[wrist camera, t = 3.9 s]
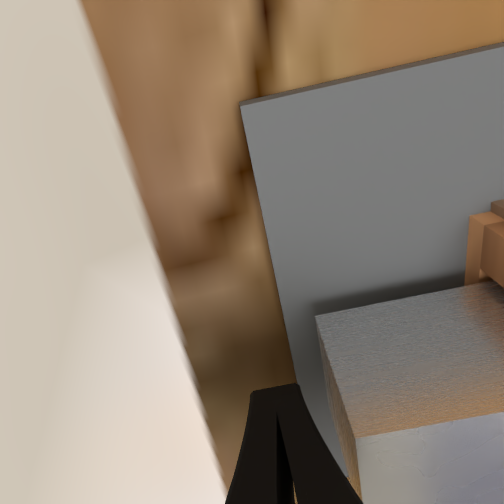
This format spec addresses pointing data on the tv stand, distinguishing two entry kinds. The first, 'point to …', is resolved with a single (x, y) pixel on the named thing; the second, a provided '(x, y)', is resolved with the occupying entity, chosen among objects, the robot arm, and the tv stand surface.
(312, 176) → the mat
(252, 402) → the robot arm
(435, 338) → the peg
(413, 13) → the tv stand surface
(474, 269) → the housing
